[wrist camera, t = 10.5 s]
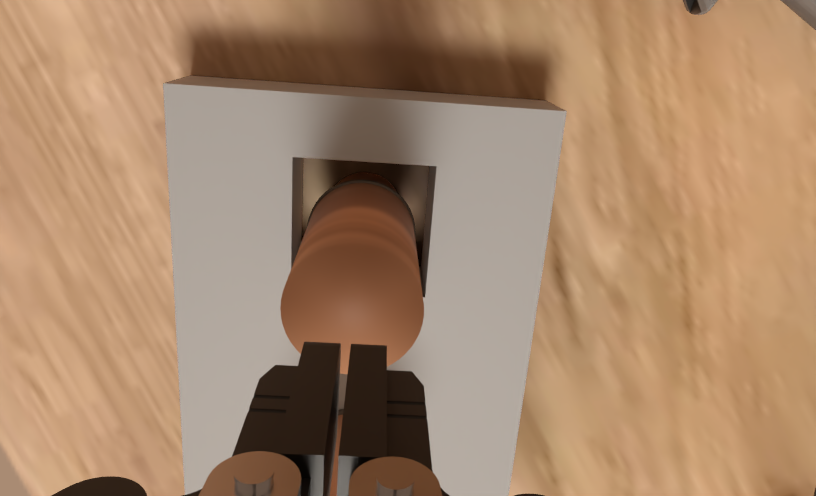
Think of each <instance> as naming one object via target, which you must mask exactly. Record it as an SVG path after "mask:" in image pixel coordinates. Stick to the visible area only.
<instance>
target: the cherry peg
mask: <svg viewBox="0 0 816 496" xmlns="http://www.w3.org/2000/svg"><path fill="white" fill-rule="evenodd" d="M415 236H416V231H415V223H414V219H413V215H412V213H411V210H410V208H409V206H408V205H407V203H406V202H405V200H404V199H403V198H402V197H401V196H400V195H399V194H398V193H397V192H396V190H395V188H394V187H393V186H392V184H391V183H390V182H389V181H387V180H386V179H385V178H383V177H381V176H379V175H377V174H374V173H368V172H359V173H354V174H351V175H349V176H347V177H345V178H343V179H342V180H341V181H340V182H339V183H338V184H337V185H336V186H334V187H332V188H330V189H329V190H328V191H326V192H325V193H324V194H323V195H322V196H321V197H320V198H319V199H318V201H317V202H316V204H315V205H314V207H313V209H312V211H311V214H310V217H309V220H308V224H307V229H306V231H305V234H304V237H303V239H302V242H301V245H300V247H299V250H298V253H297V255H296V258H295V261H294V263H293V266H292V268H291V271H290V274H289V276H288V279H287V282H286V284H285V287H284V290H283V293H282V297H281V306H280V310H281V319H282V324H283V327H284V330H285V333H286V335H287V337H288V338H289V340H290V342H291V343H292V345H293V346H294V347H295V349H296V350H297V351H298V352H299V353H300V354H301V352H302V348H303V344H304V342H325V343H341V361H340V374H348V365H349V356H350V347H351V344H368V345H387V367H388V366H389V365H391V364H393V363H395V362H396V361H397V360H399V359H400V358H401V357H402V356H404V355H405V354H406V353H407V352H408V350H409V349H410V348H411V347H412V346H413V344H414V343H415V341H416V339H417V337H418V335H419V333H420V331H421V327H422V324H423V318H424V302H423V295H422V287H421V280H420V272H419V264H418V257H417V249H416V242H415Z"/></svg>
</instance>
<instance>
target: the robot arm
mask: <svg viewBox="0 0 816 496" xmlns="http://www.w3.org/2000/svg"><path fill="white" fill-rule="evenodd" d="M340 361H341V343H325V342H304V344H303V348H302V352H301V356H300V359H299V363H298V366H288V365H275V366H274V367H272V368H271V369H270V370H269V371H268V372H267V373H265V374H264V375H263V376H262V377H261V378H260V379H259V382H258V384H257V387H256V390H255V393H254V398H252V401H251V404H250V407H249V412H248V413H247V415H246V418H245V421H244V424H243V427H242V429H241V432H240V435H239V438H238V441H237V444H236V446H235V449H234V452H233V455H232V457H230V458H228V459H226V460H224V461H223V462H221V463H220V464H218V465H217V466H216V467H215V468H214V469H213V470H212V471H211V473H210V474H209V476H208V478H207V480H206V482H205V484H204V486H203V488H202V489H200V490H198V491H196V492H193V493H190V494H187V495H183V496H330V489H331V481H332V473H333V464H334V456H335V448H336V438H337V426H338V409H339V385H340ZM425 403H426V402H425V392H424V385H423V384H422V383H421V382H420V381H419V379H418V378H417V377H416V376H415V374H414V373H413V372H412V371H396V370H387V345H368V344H351V347H350V356H349V365H348V374H347V383H346V392H345V401H344V410H343V419H342V428H341V437H340V446H339V455H338V478H337V496H449V495H448V494H447V493H446V492H444V490H443V489H442V488H441V487H440V484H439V481H438V479H437V477H436V475H435V474H434V473H433V471H432V461H431V451H430V441H429V432H428V422H427V412H426V406H425ZM52 496H147V494H146V492H145V490H144V489H143V488H142V487H141V486H140V485H139V484H138V483H136V482H134V481H132V480H129V479H127V478H122V477H99V478H93V479H89V480H85V481H82V482H79V483H76V484H74V485H71V486H69V487H67V488H65V489H63V490H61V491H59V492H57V493H56V494H54V495H52ZM515 496H544V495H538V494H519V495H515Z"/></svg>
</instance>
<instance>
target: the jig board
mask: <svg viewBox="0 0 816 496" xmlns="http://www.w3.org/2000/svg"><path fill="white" fill-rule="evenodd" d="M163 89H164V108H165V127H166V146H167V165H168V184H169V203H170V221H171V240H172V259H173V278H174V297H175V316H176V335H177V354H178V373H179V391H180V410H181V429H182V448H183V467H184V486H185V495H187V494H190V493H193V492H196V491H198V490H200V489H202V488H203V486H204V484H205V482H206V480H207V478H208V476H209V474H210V473H211V471H212V470H213V469H214V468H215V467H216V466H217V465H218V464H220V463H221V462H223V461H224V460H226V459H228V458H230V457H232V455H233V452H234V449H235V446H236V444H237V441H238V438H239V435H240V432H241V429H242V427H243V424H244V421H245V418H246V415H247V413H248V412H249V407H250V404H251V401H252V398H254V393H255V390H256V387H257V384H258V382H259V379H260V378H261V377H262V376H263V375H264V374H265V373H267V372H268V371H269V370H270V369H271V368H272V367H274V366H275V365H288V366H298V363H299V359H300V356H301V354H300V353H299V352H298V351H297V350H296V349H295V347H294V346H293V345H292V343H291V342H290V340H289V338H288V337H287V335H286V333H285V330H284V327H283V324H282V319H281V310H280V306H281V297H282V293H283V290H284V287H285V284H286V282H287V279H288V276H289V274H290V271H291V268H292V266H293V263H294V261H295V258H296V255H297V253H298V250H299V247H300V245H301V242H302V200H303V158H315V159H331V160H346V161H362V162H377V163H393V164H408V165H424V166H429V178H428V190H427V202H426V214H425V226H424V238H423V250H422V262H421V267H419V272H420V280H421V287H422V295H423V302H424V318H423V324H422V327H421V331H420V333H419V335H418V337H417V339H416V341H415V343H414V344H413V346H412V347H411V348H410V349H409V350H408V352H407V353H406V354H405V355H404V356H402V357H401V358H400V359H399V360H397V361H396V362H395V363H393V364H391V365H389V366H388V367H387V370H396V371H412V372H413V373H414V374H415V376H416V377H417V378H418V379H419V381H420V382H421V383H422V384H423V385H424V392H425V402H426V403H425V406H426V412H427V422H428V432H429V441H430V451H431V461H432V471H433V473H434V474H435V475H436V477H437V479H438V481H439V484H440V487H441V488H442V489H443V490H444V492H446V493H447V494H448V495H449V496H508V495H509V489H510V482H511V476H512V469H513V462H514V456H515V449H516V443H517V436H518V429H519V423H520V416H521V410H522V403H523V396H524V390H525V383H526V377H527V370H528V363H529V357H530V350H531V344H532V337H533V330H534V324H535V317H536V311H537V304H538V297H539V291H540V284H541V278H542V271H543V264H544V258H545V251H546V244H547V238H548V231H549V225H550V218H551V211H552V205H553V198H554V192H555V185H556V178H557V172H558V165H559V159H560V152H561V145H562V139H563V132H564V126H565V119H566V112H567V111H565V110H563V109H561V108H559V107H557V106H555V105H553V104H551V103H550V102H548V101H546V100H532V99H518V98H504V97H490V96H475V95H461V94H447V93H433V92H419V91H404V90H390V89H376V88H362V87H347V86H333V85H319V84H305V83H291V82H276V81H262V80H248V79H234V78H219V77H205V76H191V75H190V76H187V77H183V78H180V79H176V80H173V81H169V82H166V83H163ZM346 383H347V374H340V385H339V409H338V426H337V438H336V448H335V456H334V464H333V473H332V481H331V489H330V496H337V478H338V455H339V446H340V437H341V428H342V419H343V410H344V401H345V392H346Z"/></svg>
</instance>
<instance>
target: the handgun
mask: <svg viewBox="0 0 816 496" xmlns="http://www.w3.org/2000/svg"><path fill="white" fill-rule="evenodd" d="M781 1H782V2H783V3H785V4H786V5H787V6H788V7H789V8H790V9H792V10H793V11H794V12H795V13H796V14H797V15H799V16H800V17H801V18H802V19H803V20H804V21H806V22H807V23H808V24H809V25H810V26H811V27H813V28H814V29H815V30H816V0H781ZM683 2H684V4H685V7H686V10H687V11H689V12H690V13H691V14H694V15H701V14H705V13H707V12H708V11H709V10H710V9H711V8H712V7H713V6H714V4H715V3H716V2H717V0H683Z"/></svg>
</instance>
